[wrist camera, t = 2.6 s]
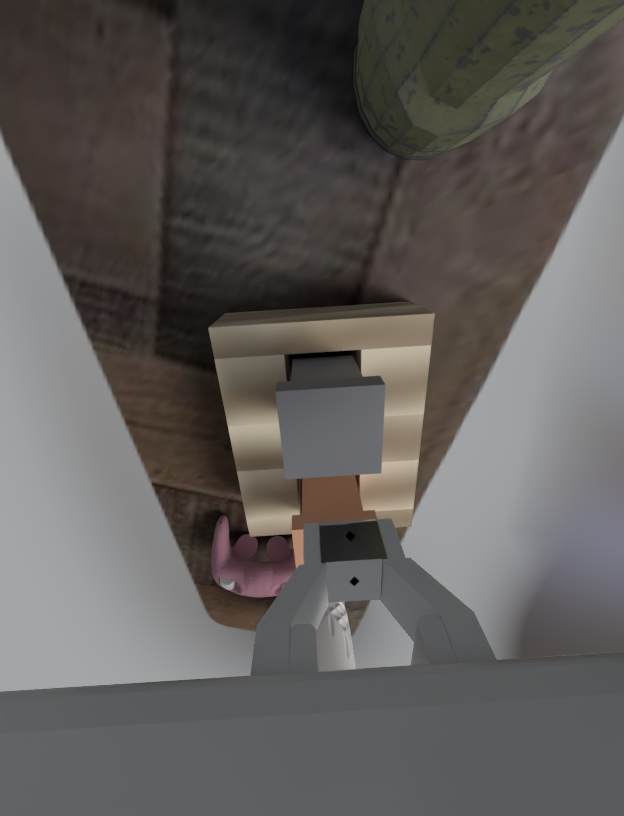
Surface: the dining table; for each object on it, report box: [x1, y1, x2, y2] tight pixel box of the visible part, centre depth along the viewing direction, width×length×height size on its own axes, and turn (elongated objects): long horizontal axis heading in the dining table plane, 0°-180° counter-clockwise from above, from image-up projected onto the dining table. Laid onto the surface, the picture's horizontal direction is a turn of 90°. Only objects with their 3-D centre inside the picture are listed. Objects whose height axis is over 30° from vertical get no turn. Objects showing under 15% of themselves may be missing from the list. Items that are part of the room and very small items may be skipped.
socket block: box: [208, 301, 435, 537], centre depth 26 cm, size 18×14×5 cm
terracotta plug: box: [292, 475, 377, 569], centre depth 23 cm, size 5×5×7 cm
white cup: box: [316, 601, 357, 671], centre depth 35 cm, size 8×8×10 cm
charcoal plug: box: [275, 355, 385, 479], centre depth 19 cm, size 5×5×7 cm
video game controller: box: [211, 515, 296, 597], centre depth 33 cm, size 10×5×7 cm, turn 84°
